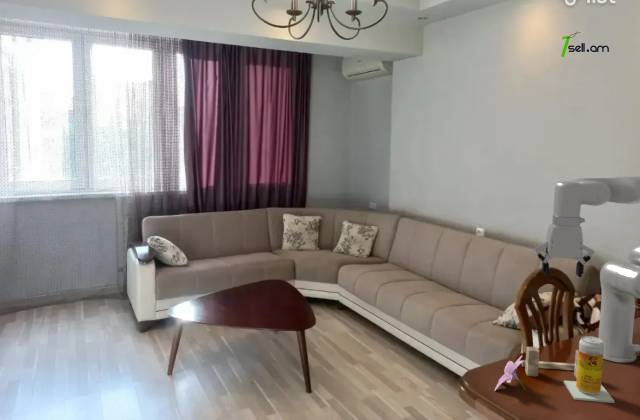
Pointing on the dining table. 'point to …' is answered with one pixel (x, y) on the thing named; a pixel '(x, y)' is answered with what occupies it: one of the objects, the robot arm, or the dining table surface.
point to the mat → (577, 395)
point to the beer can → (590, 365)
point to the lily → (510, 372)
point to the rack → (545, 363)
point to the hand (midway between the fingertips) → (562, 275)
